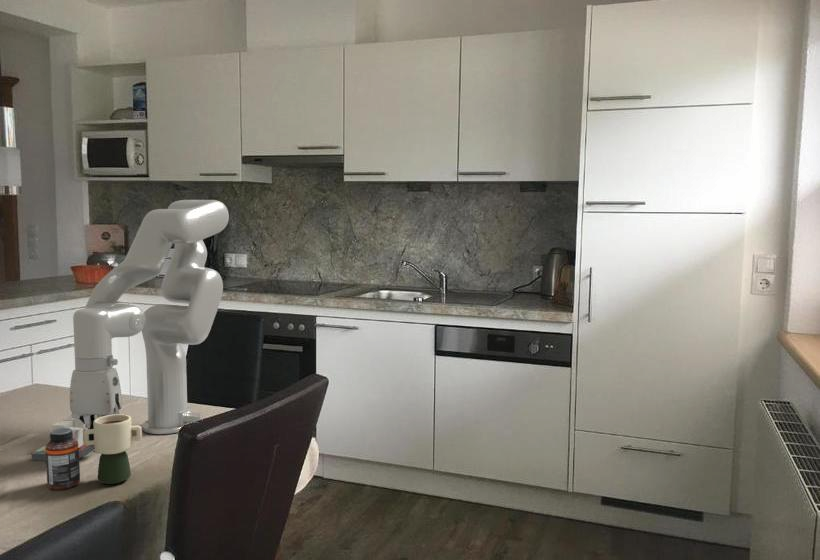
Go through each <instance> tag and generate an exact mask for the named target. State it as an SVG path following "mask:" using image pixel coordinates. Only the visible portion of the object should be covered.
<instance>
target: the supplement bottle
mask: <svg viewBox="0 0 820 560" xmlns="http://www.w3.org/2000/svg"><path fill="white" fill-rule="evenodd" d="M49 439H50V440H49V441H48V442H47V443H46V444H45V446H46V447H45V450H46V461H45V464H46V465H45V468H46V482H47V487H48V488H49V489H51V490H54V491H58V490H59V491H60V490H67V489H71V488H74V487H75V486H78V485H79V483H80V481H81V469H80V459H79V447H78V441H77V440H76V439H75V438H73V433H72V429H70V428H59V429H55V430H53V431H52V430H51V431H50V433H49Z"/></svg>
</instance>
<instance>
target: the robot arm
mask: <svg viewBox="0 0 820 560" xmlns="http://www.w3.org/2000/svg"><path fill="white" fill-rule="evenodd" d="M229 219H230V216H229V210H228V208H227V206H226V205H225V204H224V203H223V202H221V201H219V200H216V199H182V200H181V199H180V200H176V201H174V202H171V203H170V205H169V206H168V207H167V208H158V209H153V210H150V211H149V212H147V213H146V214H145V216H144V217H143V220H142V221H141V224H140V226H139V227H138V230H137V232H136V235H135V236H134V239H133V240H132V241H133V242H132V243H131V245H130V247H129V250H128V252H127V254H126V256H125V258H124V259H123V260H122V261H121V262H120V263H118V265H116V266H114V268H112V270H110V271H109V272H108V273H107V274H106V275H104V276H103V277H102V278H101V279H100V281H99V282H97V284H96V286H94V288H93V290H92V292H91V294H90V295H89V298H88V300H87V302H86V305H85V308H80V309H78V310H75V312H74V313H73V316H72V319H73V321H72V323H73V324H72V325H73V345H74V346H73V349H74V370H73V371H72V374H71V377H70V384H69V385H70V386H69V410H70V412H71V417H72V418H74V419H78V420H81V421H82V422H83V424H84V427H85V428H86V430H87V429H94V425H93V422H94V420H95V419H97V418H99V417H102V416H106V415H113V414H121V413H120V410H121V409H122V408H123V399H122V398H123V397H122V390H121V383H120V377H119V374H118V370H117V368H116V367H114V366H118V363H119V361H118V359H117V358H114V355H113V347H112V345H113V344H112V339H113V338H114V339H115V338H130V337H134V336H136V335H138V334H139V333H141V334H142V339H143V342H144V346H145V357H146V361H145V362H146V388H147V389H146V390H147V391H146V393H147V420H145V421H144V422H143V423H142V424H141V428H142V432H144V433H148V434H153V435H169V434H175V433H176V434H177V433H179V432H178V430H179V429H180V428H181V427H182V426H183V425H185V424H187V423H191V422H194V421H197V420H200V419H202V420H203V415H202V413H201V412H193V411H192V407H191V406H188V388H187V387H188V386H187V385H188V381H187V357H186V352H185V351H184V348H183V346H182V345H188V346H189V345H191V346H194V345H200V344H201V343H203V342H205V340H206V339H207V338H208V336H209V334H210V333H211V332H210V331H211V330H212V326H213V324H214V321H215V318H216V315H217V312H218V309H219V306H220V303H221V301H222V297H223V293H224V292H223V291H224V283H223V278H222V276H221V275H220V273H219V272H218V271H217V270H215V269H213V268H209V267H205V265H206V262H207V257H208V250H207V247H206V244H205V242H204V240H205V239H207V238H210V237H212V236H214V235H216V234H217V235H218V234H219V233H221V232H222V231H223V230H224V229H226V227H227V225H228V223H229ZM173 245H174V249H173V253H172V257H171V258H170V260H169V264H168V266H167V268H166V272H165V274H164V276H163V280H162V282H161V283H162V284H161V287H160V293H161V296H162V297H163V298H164V299H165V300H167V301H168V302H172V303H175V304H155V305H152V306H150V307H149V308H147V309H146V310H145V311H143V310H142V309H141V308H140V307H139V306H136V305H133V304H127V303H126V304H125V303H117V302H118V301H119V300H120V298H121V297H122V296H123V294H125V293H126V292H128V290H130V289H132V288H134V287H137V286H138V285H140V284H143V283H145V282H146V283H147V282H148V281H150V280H152V279H154V278H156V277H157V276H159V274H160V273H161V271H162V269H163V267H164V265H165V262H166V260H167V257H168V255H169V252H170V251H171V249H172V246H173ZM176 303H178V304H177V305H176ZM179 304H184V305H179ZM185 304H186V305H185ZM187 304H188V305H187ZM194 423H195V422H194ZM92 440H94V434H89V441H92ZM90 446H93V445H90Z"/></svg>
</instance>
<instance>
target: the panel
mask: <svg viewBox="0 0 820 560" xmlns="http://www.w3.org/2000/svg"><path fill="white" fill-rule="evenodd" d="M83 433H84V432H83ZM45 447H46V445H43V446H42V447H40V448H38V449H37V450H35V451H33V452H32V453H31V455H30V457H31V458H30V459H31V461H39V462H40V461H45V462H46V450H45ZM92 451H95V447H94V445H93V446H90V445H88V446H87V445H84V436H83V445H82V446H81V447H79V460H80V459H82V458H83V457H85V456H86V455H88V454H89V453H91V452H92Z"/></svg>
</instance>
